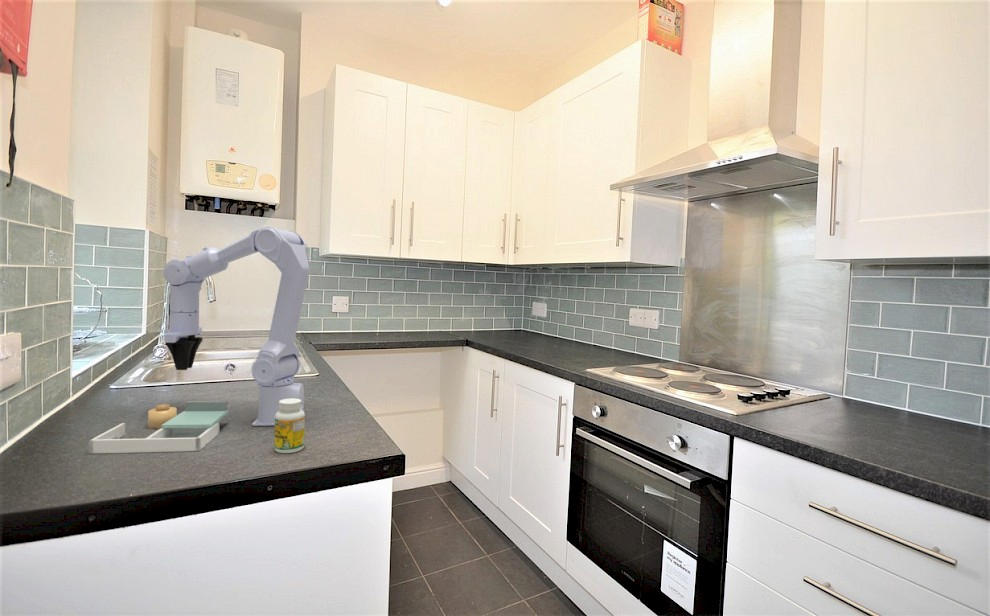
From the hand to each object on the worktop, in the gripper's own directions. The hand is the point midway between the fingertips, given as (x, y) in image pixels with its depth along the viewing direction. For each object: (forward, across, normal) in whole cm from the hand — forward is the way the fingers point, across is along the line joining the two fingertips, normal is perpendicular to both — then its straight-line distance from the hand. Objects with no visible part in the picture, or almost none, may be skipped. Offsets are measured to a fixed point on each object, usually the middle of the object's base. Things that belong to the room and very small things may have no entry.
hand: (184, 368), depth 109 cm
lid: (+8, +15, +9) cm, 19 cm away
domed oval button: (+10, +10, 0) cm, 14 cm away
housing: (+10, +21, +4) cm, 24 cm away
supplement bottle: (+11, +26, +29) cm, 41 cm away
